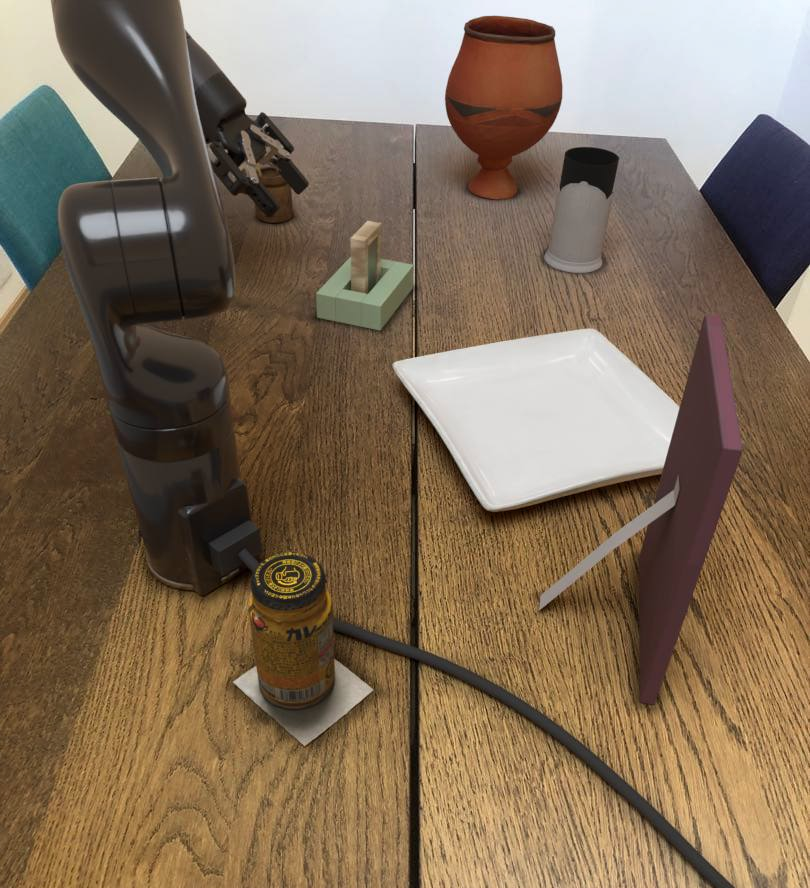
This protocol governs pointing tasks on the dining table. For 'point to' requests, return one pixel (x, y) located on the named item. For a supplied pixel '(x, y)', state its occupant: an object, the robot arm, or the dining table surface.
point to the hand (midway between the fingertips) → (290, 201)
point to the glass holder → (582, 209)
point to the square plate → (543, 415)
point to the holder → (365, 296)
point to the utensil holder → (275, 194)
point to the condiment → (296, 649)
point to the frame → (366, 257)
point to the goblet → (503, 95)
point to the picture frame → (680, 508)
